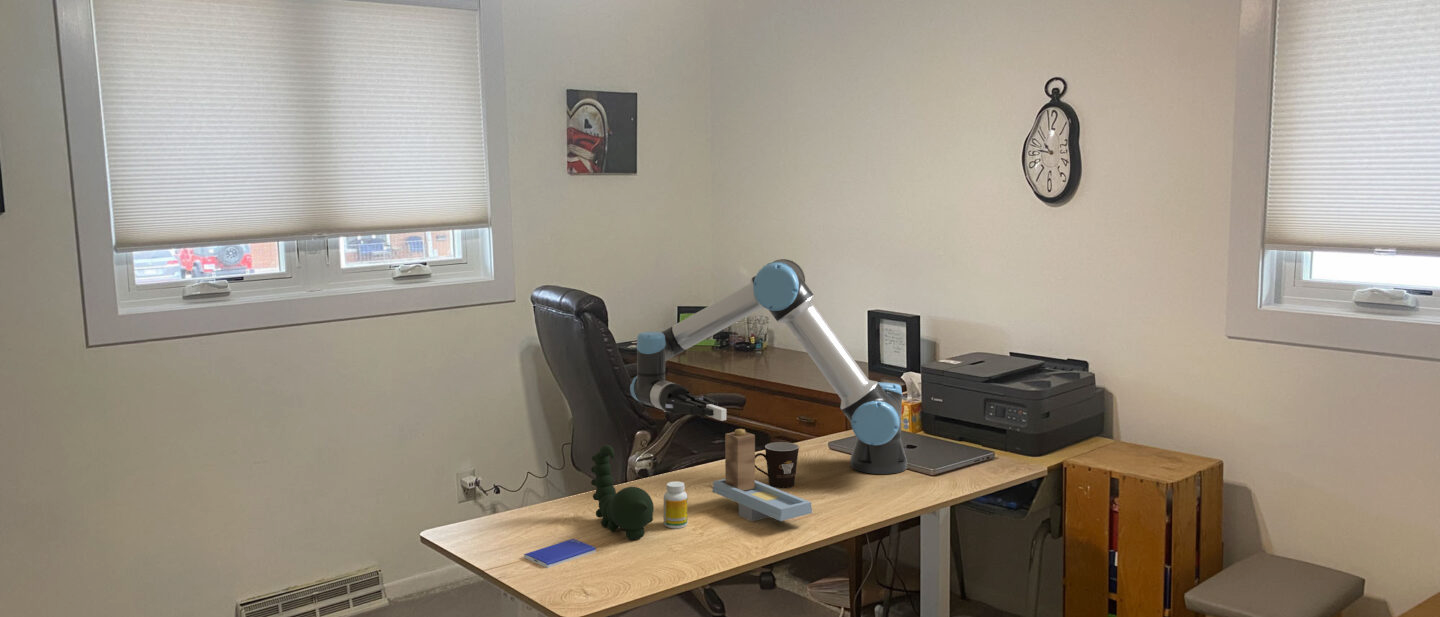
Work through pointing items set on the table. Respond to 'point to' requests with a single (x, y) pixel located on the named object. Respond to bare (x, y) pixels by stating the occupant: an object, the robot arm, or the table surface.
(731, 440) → the brown block with knob
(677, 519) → the supplement bottle
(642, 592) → the table surface
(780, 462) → the coffee mug
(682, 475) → the table surface
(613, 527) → the toy figurine
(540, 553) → the hard drive
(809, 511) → the beam
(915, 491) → the table surface
